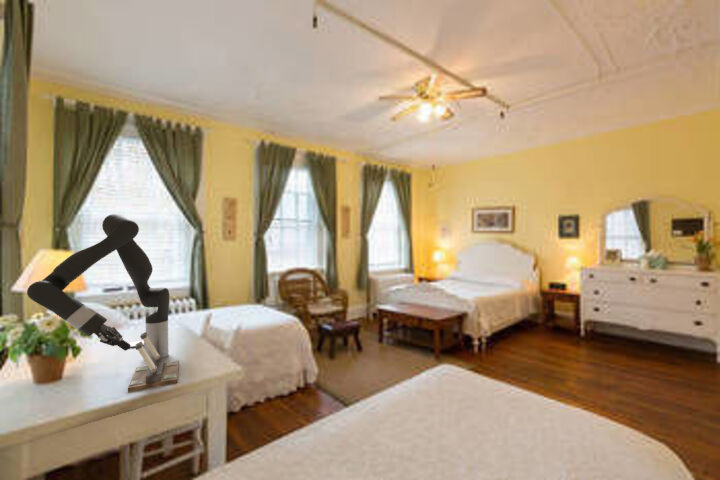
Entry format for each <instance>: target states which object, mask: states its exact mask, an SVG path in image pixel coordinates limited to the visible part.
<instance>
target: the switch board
mask: <svg viewBox="0 0 720 480" xmlns="http://www.w3.org/2000/svg"><path fill="white" fill-rule="evenodd" d="M151 360H152V361H153V363H154V364H155V366H156V367H157V369H156V372H155V373H151V370H150V368H149V367H148V365H145V366H138V367H136V368H135V370H134V373H133V374H132V378H131V379H130V381H129V384H128V387H127V392H128V393H131V392H134V391H135V392H136V391H140V390H141V391H142V390H146V389H151V388H152V389H153V388H157V387H162V386H167V385H172V384H177V383H178V379H179V378H178V377H179V368H180V360H174V361H168V362H166V361H165V360H166V357H163V358H159V360H158V361H156V360H155V359H151Z"/></svg>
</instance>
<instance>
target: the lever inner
mask: <svg viewBox="0 0 720 480" xmlns="http://www.w3.org/2000/svg"><path fill="white" fill-rule="evenodd" d="M147 335H148V334H147V333H146V331H145V332H143V333H141V334H140V336H139V337H140V339H141V340H142V341H144V342H145V343H146V345H147V347H148V348H149V350H150V352H151V353H152V355H153V356H154V358H155V360H156V361H158V360H159V358H160V355H159V354H158V352H157V351H156V349H155V347H154V346H153V344H152V343H151V341H150V339H149V338H148V336H147Z"/></svg>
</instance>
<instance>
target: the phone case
mask: <svg viewBox="0 0 720 480" xmlns="http://www.w3.org/2000/svg"><path fill="white" fill-rule="evenodd" d="M139 342H142V343H143V347H144V340H138V341H137V340H136V341H131V342H128V343H129V344H130V345H131V346H130V348H132V349H136V348H135V346H136V344H137V343H139ZM130 348H129V349H128V350H130Z"/></svg>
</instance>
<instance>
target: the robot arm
mask: <svg viewBox="0 0 720 480" xmlns="http://www.w3.org/2000/svg"><path fill="white" fill-rule="evenodd" d="M102 230H103V233H104V234H105V235H106V237H105V238H104V239H103V240H100V241H99V242H97V243H96V244H93V245H91V246H88V247H86V248H83V249H81V250H78V251H77V252H74V253H72V254H71V255H70V256H68V257H67V258H66V259H65V260H63V261H62V262H61V263H59V264H58V265H57V266H55V267H54V269H53V270H52V272H50V274H48V275H46V276H45V278H43V279H42V280H39V281H35V282H33V283H32V284H31V283H30V285H29V286H28V287H27V290H26V294H27V296H28V298H29V299H30V300H31V301H33V302H35V303H37V304H38V305H40V306H42V307H44V308H45V309H47V310H49V311H51V312H53V313H54V314H55V315H56V316H57V317H59V318H60V319H62V320H64V321H65V322H67V323H68V324H69V325H70V326H72V327H73V328H74V329H76V330H77V331H79V332H81V333H82V334H84V335H86V336H87V337H91V336H92V335H93V334H94V335H96V336H97V338H98V339H99V342H100V343H102V344H106V345H107V346H108V345H109V346H110V347H115V346H116V347H118V348H120V349H122V350H123V351H127V350H130V349H129V348H130V346H131V345H130V344H129V343H130V342H128V341H125V340H124V339H123V338H124V337H123V335H122V334H121V333H120V332H119V331H118V329H116V327H114V326H113V327H112V326H109V325H106V324H105V323H106V322H107V318H106V317H104V316H103V315H102V314H100V313H99V312H98V311H95V310H94V309H92V308H91V307H89V306H86V305H85V304H83V303H82V302H81V301H79V300H78V299H76V298H74V297H73V296H71V295H69V294H67V293H66V292H64V290H65V289H66V288H67V287H68V286H69V285H70V284H71V283H72V282H74V281H75V280H76V279H78V277H81V275H83V274H84V273H85V272H86V271H87V270H89V269H90V268H91V267H93V266H94V265H95V264H97V262H99V261H100V260H102V259H104V258H105V257H107V256H108V255H110V254H112V253H114V252H115V251H116V252H117V254H118V257H119V258H120V260H121V263H122V264H123V266H124V269H125V270H126V272H127V274H128V276H129V277H130V279H131V281H132V283H133V285H134V287H135V289H136V292H137V296H138V298H139V300H140V303H141V305H142V306H143V307H145V308H157V310H156V311H155V312H154V313H150V314H148V315H146V317H145V319H144V320H145V332H146V333H147V334H148V335H147V336H148V338H149V339H150V341H151V343H152V344H153V346H154V347H155V349H156V351H157V352H158V354H159V355H160V358H163V357H165V358H166V357H168V356H169V352H170V351H169V345H170V344H169V314H170V313H169V312H170V292H169V288H167V287H152V286H151V287H150V285H149V279H150V277H151V275H152V274H153V265H152V262H151V260H150V258H149V257H148V255H147V254H146V252H145V251H144V250H143V248H141V246H140V245H139V244H137V242H136V241H135V240H134V239H135V238H136V237H137V235H138V234H139V231H140V227H139V225H138V224H137V223H136V222H135V221H134V220H132V219H130V218H128V217H126V216H124V215H121V214H115V213H113V214H111V213H110V214H108V215H107V216H106V217H105V218H104V220H103V221H102ZM144 348H145V350H146V352H147V353H148V355H149V356H150V358H151V359H155V358H154V356H153V355H152V353H151V352H150V350H149V348H148V347H147V345H146V343H145V342H144Z"/></svg>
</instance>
